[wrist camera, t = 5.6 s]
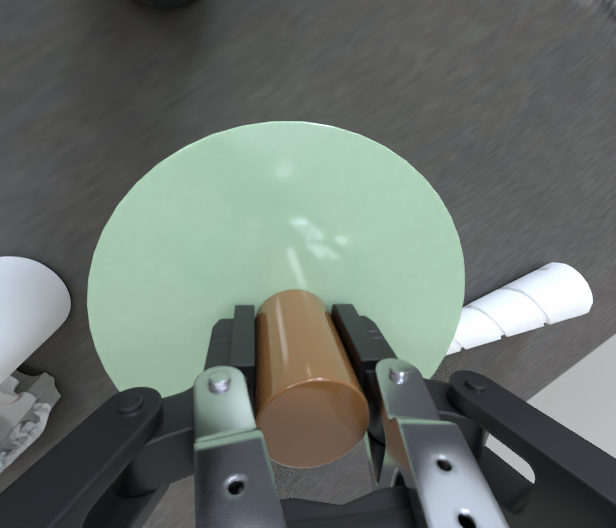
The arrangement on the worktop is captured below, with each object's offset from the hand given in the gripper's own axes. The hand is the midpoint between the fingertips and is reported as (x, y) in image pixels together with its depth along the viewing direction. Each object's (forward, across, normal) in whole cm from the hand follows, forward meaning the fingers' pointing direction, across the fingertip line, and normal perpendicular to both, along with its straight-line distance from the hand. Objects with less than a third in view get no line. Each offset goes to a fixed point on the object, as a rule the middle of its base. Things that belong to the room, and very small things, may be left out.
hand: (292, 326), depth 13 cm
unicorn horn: (+14, -16, +9) cm, 23 cm away
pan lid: (+1, 0, 0) cm, 1 cm away
